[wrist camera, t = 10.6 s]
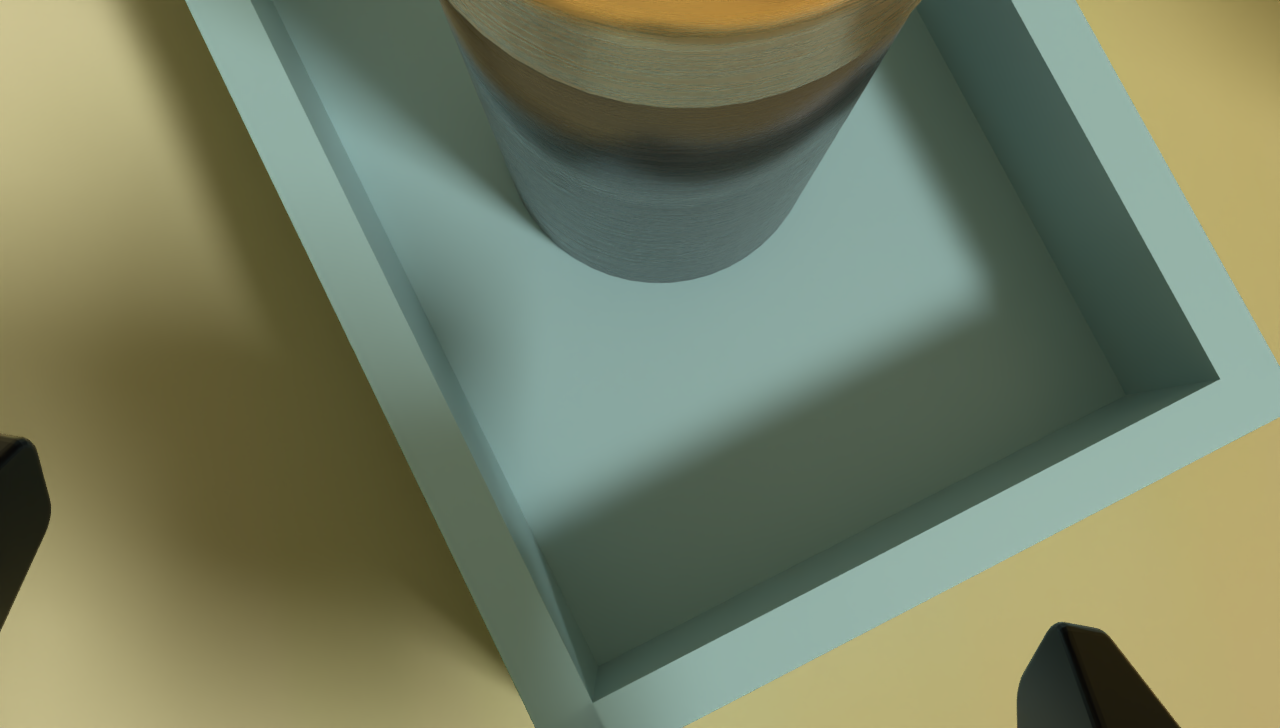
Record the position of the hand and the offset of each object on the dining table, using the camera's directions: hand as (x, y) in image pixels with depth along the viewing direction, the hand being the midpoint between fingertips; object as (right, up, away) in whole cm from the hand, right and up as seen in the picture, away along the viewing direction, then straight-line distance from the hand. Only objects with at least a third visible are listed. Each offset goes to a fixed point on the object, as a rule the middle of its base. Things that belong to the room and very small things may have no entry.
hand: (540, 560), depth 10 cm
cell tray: (+1, +5, +9) cm, 11 cm away
